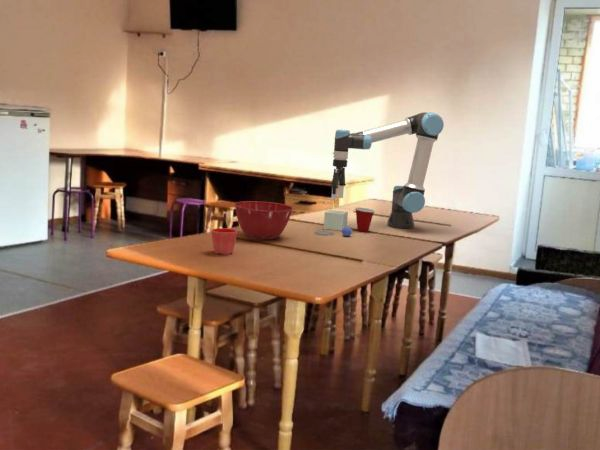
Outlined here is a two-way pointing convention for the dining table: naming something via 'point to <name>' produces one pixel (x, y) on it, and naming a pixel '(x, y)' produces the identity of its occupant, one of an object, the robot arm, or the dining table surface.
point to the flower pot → (224, 240)
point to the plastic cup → (364, 218)
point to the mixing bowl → (262, 218)
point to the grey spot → (323, 233)
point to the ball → (346, 231)
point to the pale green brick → (335, 220)
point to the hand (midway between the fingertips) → (337, 199)
